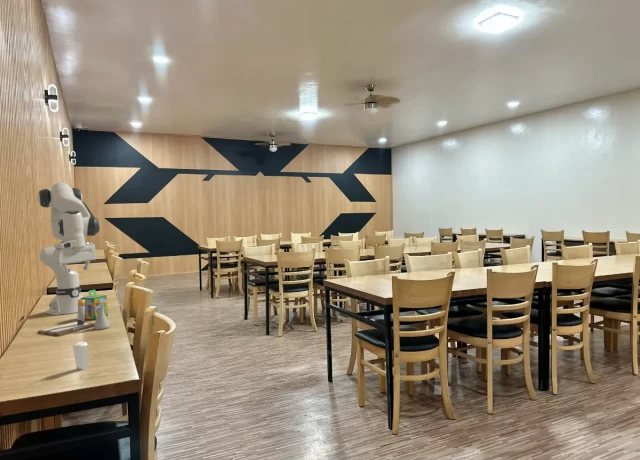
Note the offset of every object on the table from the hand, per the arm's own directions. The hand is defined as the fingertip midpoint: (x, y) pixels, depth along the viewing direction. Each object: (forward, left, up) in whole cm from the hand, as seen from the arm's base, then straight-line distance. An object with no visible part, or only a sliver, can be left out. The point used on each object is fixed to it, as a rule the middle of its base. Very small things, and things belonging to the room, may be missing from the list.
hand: (76, 271), depth 214 cm
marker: (+3, -2, -26) cm, 26 cm away
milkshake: (+62, -41, -27) cm, 79 cm away
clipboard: (+1, -7, -27) cm, 28 cm away
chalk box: (-9, +14, -27) cm, 32 cm away
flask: (+16, 0, -27) cm, 32 cm away
